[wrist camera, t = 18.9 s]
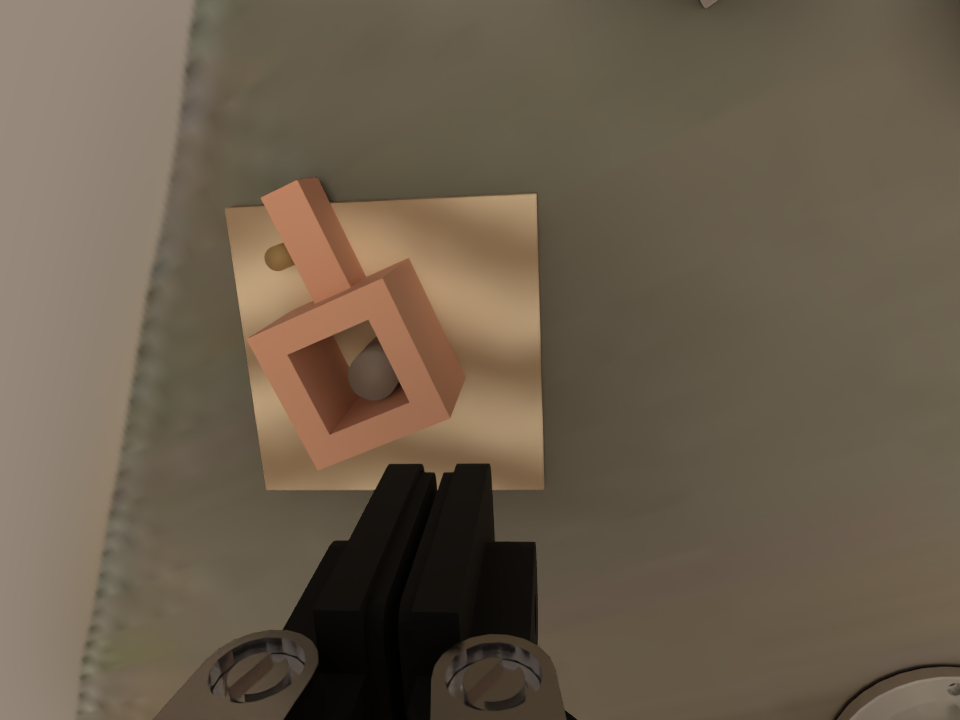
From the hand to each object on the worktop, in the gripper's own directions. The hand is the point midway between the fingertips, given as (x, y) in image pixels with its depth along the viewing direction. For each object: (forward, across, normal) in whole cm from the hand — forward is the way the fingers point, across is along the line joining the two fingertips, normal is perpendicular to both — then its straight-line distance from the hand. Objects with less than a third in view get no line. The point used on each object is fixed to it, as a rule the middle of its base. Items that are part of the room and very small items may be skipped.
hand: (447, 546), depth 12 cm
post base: (+27, +7, +4) cm, 28 cm away
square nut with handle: (+26, +9, +1) cm, 27 cm away
